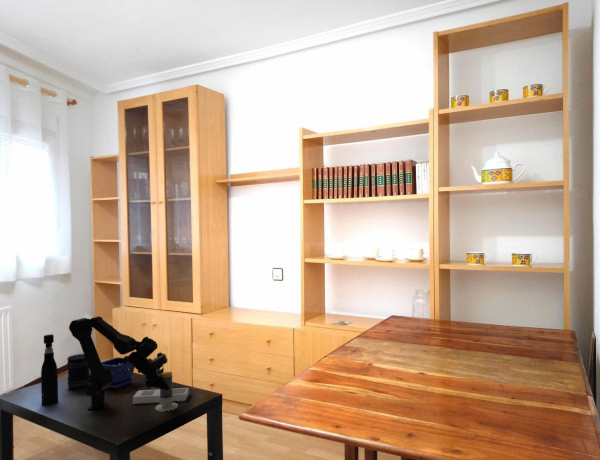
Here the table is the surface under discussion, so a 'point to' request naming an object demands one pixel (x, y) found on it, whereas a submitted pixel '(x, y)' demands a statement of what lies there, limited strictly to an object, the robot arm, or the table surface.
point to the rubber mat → (166, 407)
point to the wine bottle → (49, 374)
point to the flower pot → (119, 372)
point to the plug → (166, 395)
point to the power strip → (154, 395)
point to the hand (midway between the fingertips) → (169, 387)
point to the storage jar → (78, 372)
